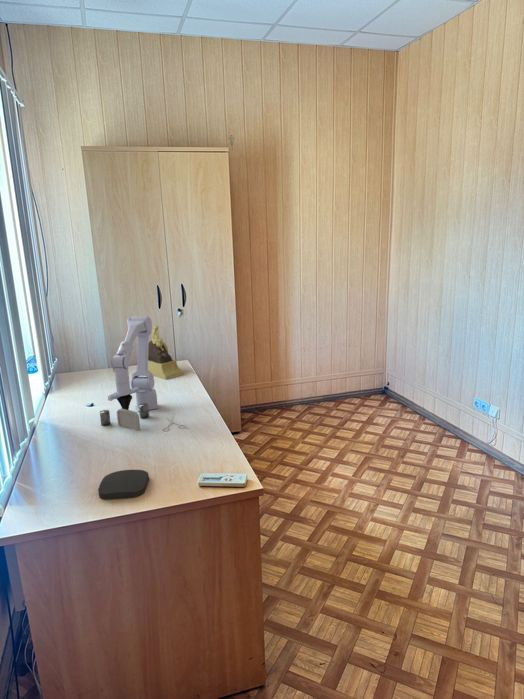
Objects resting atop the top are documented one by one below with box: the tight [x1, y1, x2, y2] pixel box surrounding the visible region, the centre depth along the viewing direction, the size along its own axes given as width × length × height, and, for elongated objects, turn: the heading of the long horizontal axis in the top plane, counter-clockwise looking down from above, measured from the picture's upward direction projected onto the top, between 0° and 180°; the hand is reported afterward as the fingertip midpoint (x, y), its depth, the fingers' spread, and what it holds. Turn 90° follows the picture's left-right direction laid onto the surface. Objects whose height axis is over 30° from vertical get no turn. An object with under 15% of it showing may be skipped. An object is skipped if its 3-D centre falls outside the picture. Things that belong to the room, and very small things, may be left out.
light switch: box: [116, 407, 141, 432], centre depth 202 cm, size 2×12×8 cm, turn 58°
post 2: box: [139, 403, 150, 420], centre depth 213 cm, size 4×4×6 cm
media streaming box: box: [97, 469, 150, 501], centre depth 153 cm, size 15×15×3 cm
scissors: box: [162, 414, 190, 432], centre depth 206 cm, size 11×1×20 cm
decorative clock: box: [148, 325, 185, 381], centre depth 281 cm, size 28×13×30 cm, turn 46°
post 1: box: [99, 409, 112, 427], centre depth 206 cm, size 4×4×6 cm
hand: (125, 411), depth 206 cm, fingers closed
